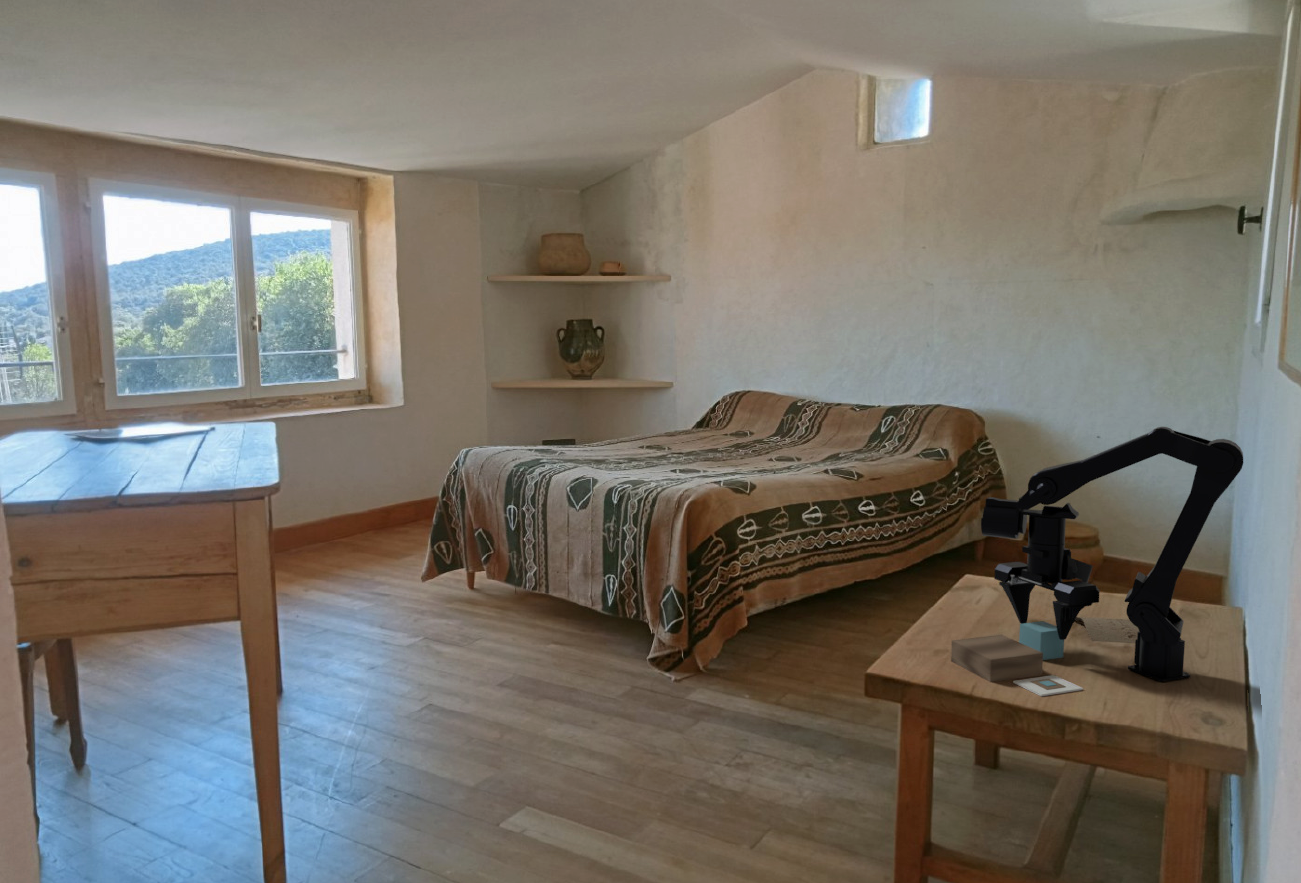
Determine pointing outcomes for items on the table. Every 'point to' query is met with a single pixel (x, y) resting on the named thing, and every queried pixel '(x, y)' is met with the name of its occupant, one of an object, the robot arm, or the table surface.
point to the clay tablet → (1110, 629)
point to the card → (1048, 685)
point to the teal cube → (1042, 639)
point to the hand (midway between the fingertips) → (1042, 631)
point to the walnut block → (997, 658)
